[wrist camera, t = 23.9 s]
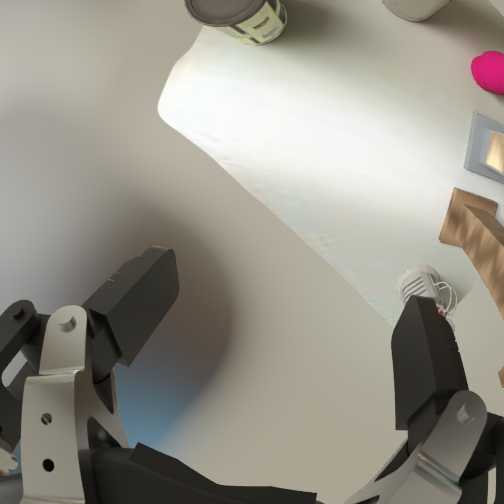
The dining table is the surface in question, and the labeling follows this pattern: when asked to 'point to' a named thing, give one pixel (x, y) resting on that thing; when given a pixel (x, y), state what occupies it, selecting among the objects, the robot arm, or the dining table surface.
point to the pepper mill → (489, 71)
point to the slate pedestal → (482, 146)
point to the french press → (424, 287)
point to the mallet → (496, 151)
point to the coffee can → (241, 18)
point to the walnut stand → (478, 240)
